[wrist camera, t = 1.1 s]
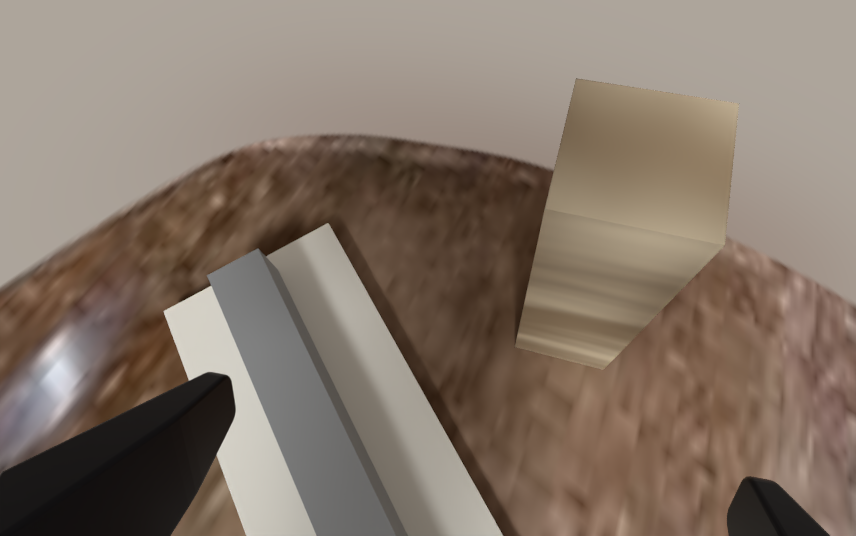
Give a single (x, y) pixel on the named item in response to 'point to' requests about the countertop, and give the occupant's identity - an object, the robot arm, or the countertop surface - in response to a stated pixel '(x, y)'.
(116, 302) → the countertop surface
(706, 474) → the countertop surface
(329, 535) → the ridge stand
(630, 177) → the brass post
